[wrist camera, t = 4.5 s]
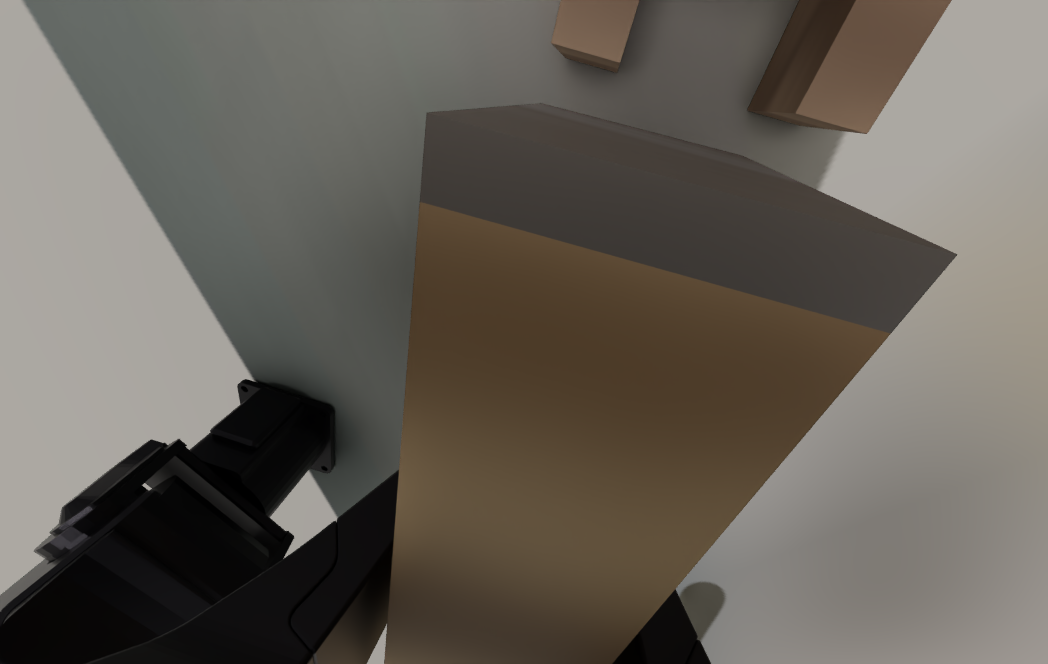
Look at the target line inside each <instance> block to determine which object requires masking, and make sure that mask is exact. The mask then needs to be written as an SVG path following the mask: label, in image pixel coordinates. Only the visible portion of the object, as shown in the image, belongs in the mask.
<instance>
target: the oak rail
mask: <svg viewBox="0 0 1048 664" xmlns="http://www.w3.org/2000/svg"><path fill="white" fill-rule="evenodd" d="M956 256H957V254H955V253H953V252H951V251H948V250H946V249H944V248H942V247H940V246H938V245H936V244H933V243H931V242H929V241H926V240H925V239H922V238H920V237H918V236H916V235H914V234H912V233H909V232H907V231H905V230H903V229H901V228H898V227H896V226H894V225H892V224H889V223H887V222H885V221H883V220H881V219H878V218H877V217H874V216H872V215H870V214H868V213H865V212H863V211H861V210H859V209H857V208H855V207H853V206H850V205H848V204H846V203H844V202H842V201H839V200H837V199H835V198H833V197H831V196H829V195H826V194H824V193H822V192H820V191H818V190H816V189H813V188H811V187H809V186H807V185H805V184H802V183H800V182H798V181H796V180H794V179H792V178H789V177H787V176H785V175H783V174H781V173H778V172H776V171H774V170H772V169H770V168H768V167H765V166H763V165H761V164H759V163H757V162H754V161H752V160H750V159H748V158H746V157H744V156H741V155H737V154H733V153H729V152H726V151H722V150H718V149H714V148H710V147H706V146H703V145H699V144H695V143H691V142H687V141H684V140H680V139H676V138H672V137H668V136H664V135H661V134H657V133H653V132H649V131H645V130H642V129H638V128H634V127H630V126H626V125H622V124H619V123H615V122H611V121H607V120H603V119H600V118H596V117H592V116H588V115H584V114H580V113H577V112H573V111H569V110H565V109H561V108H558V107H554V106H550V105H546V104H542V103H540V104H527V105H515V106H503V107H490V108H478V109H466V110H453V111H441V112H429V113H427V115H426V128H425V141H424V154H423V167H422V180H421V193H420V206H419V219H418V232H417V245H416V258H415V271H414V284H413V297H412V310H411V323H410V336H409V349H408V362H407V375H406V388H405V401H404V414H403V427H402V440H401V453H400V466H399V479H398V491H397V504H396V517H395V530H394V543H393V556H392V569H391V582H390V595H389V608H388V621H387V634H386V647H385V660H384V664H612V663H613V662H614V661H615V660H616V659H617V657H618V656H619V655H620V654H621V653H622V652H623V650H624V649H625V648H626V647H627V646H628V644H629V643H630V642H631V641H632V640H633V638H634V637H635V636H636V635H637V634H638V633H639V631H640V630H641V629H642V628H643V627H644V625H645V624H646V623H647V622H648V621H649V620H650V618H651V617H652V616H653V615H654V614H655V612H656V611H657V610H658V609H659V608H660V606H661V605H662V604H663V603H664V602H665V601H666V599H667V598H668V597H669V596H670V595H671V593H672V592H673V591H674V590H675V589H676V587H677V586H678V585H679V584H680V583H681V582H682V580H683V579H684V578H685V577H686V576H687V574H688V573H689V572H690V571H691V570H692V568H693V567H694V566H695V565H696V564H697V563H698V561H699V560H700V559H701V558H702V557H703V555H704V554H705V553H706V552H707V551H708V550H709V548H710V547H711V546H712V545H713V544H714V543H715V541H716V540H717V539H718V537H720V535H721V534H722V533H723V532H724V531H725V529H726V528H727V527H728V526H729V525H730V523H731V522H732V521H733V520H734V519H735V518H736V516H737V515H738V514H739V513H740V512H741V511H742V509H743V508H744V507H745V506H746V505H747V503H748V502H749V501H750V500H751V499H752V497H753V496H754V495H755V494H756V492H758V490H759V489H760V488H761V487H762V486H763V484H764V483H765V482H766V481H767V479H768V478H769V477H770V476H771V475H772V474H773V473H774V471H775V470H776V469H777V468H778V467H779V465H780V464H781V463H782V462H783V461H784V459H785V458H786V457H787V456H788V455H789V453H790V452H791V451H792V450H793V449H794V448H795V447H796V445H797V444H798V443H799V442H800V441H801V439H802V438H803V437H804V436H805V435H806V433H807V432H808V431H809V430H810V429H811V428H812V426H813V425H814V424H815V423H816V421H817V420H818V419H819V418H820V417H821V416H822V415H823V413H824V412H825V411H826V410H827V409H828V407H829V406H830V405H831V404H832V403H833V401H834V400H835V399H836V398H837V397H838V396H839V394H840V393H841V392H842V391H843V390H844V388H845V387H846V386H847V385H848V384H849V382H850V381H851V380H852V379H853V378H854V376H855V375H856V374H857V373H858V372H859V371H860V369H861V368H862V367H863V366H864V365H865V363H866V362H867V361H868V360H869V359H870V358H871V356H872V355H873V354H874V353H875V352H876V351H877V349H878V348H879V347H880V346H881V345H882V343H883V342H884V341H885V340H886V339H887V337H888V336H889V335H890V334H891V333H892V332H893V330H894V329H895V328H896V327H897V326H898V324H899V323H900V322H901V321H902V320H903V318H904V317H905V316H906V315H907V314H908V313H909V311H910V310H911V309H912V308H913V307H914V305H915V304H916V303H917V302H918V301H919V299H920V298H921V297H922V296H923V295H924V294H925V292H926V291H927V290H928V289H929V287H931V285H932V284H933V283H934V282H935V281H936V279H937V278H938V277H939V276H940V275H941V274H942V272H943V271H944V270H945V269H946V268H947V266H948V265H949V264H950V263H951V262H952V260H953V259H954V258H955V257H956Z"/></svg>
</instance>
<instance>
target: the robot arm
mask: <svg viewBox="0 0 1048 664" xmlns="http://www.w3.org/2000/svg"><path fill="white" fill-rule="evenodd" d="M238 393H239V398H240V404H241V405H240V406H238V407H237V408H236V409H235V410H233V411H232V412H231V413H230V414H229V415H227V416H226V417H225V418H224V419H223V420H221V421H220V422H219V423H218V424H216V425H215V426H214V427H213V428H212V429H211V430H210V432H211V433H209V434H208V435H207V436H206V437H205V438H203V439H202V440H201V441H200V442H198V443H197V444H196V445H195V446H194V447H192V448H191V449H190V450H189V449H187V448H186V446H187V445H186V444H185V443H183V442H182V441H181V440H180V439H177V440H176V441H174V442H172V443H171V444H169V445H167V444H166V443H161V442H158V441H154V440H150V441H148V442H147V443H145V444H144V445H142V446H141V447H140V448H138V449H137V450H135V451H134V452H133V453H131V454H130V455H129V456H127V457H126V458H125V459H123V460H122V461H121V462H119V463H118V464H117V465H115V466H114V467H113V468H111V469H110V470H109V471H107V472H106V473H105V474H104V475H102V476H101V477H100V478H98V479H97V480H96V481H95V482H93V483H92V484H91V485H90V486H88V487H87V488H86V489H85V490H83V491H82V492H81V493H80V494H78V495H77V496H76V497H74V499H72V500H71V501H69V502H68V503H67V504H66V505H64V506H63V507H62V510H61V515H60V520H59V524H58V525H57V526H56V527H55V528H54V529H52V530H51V531H50V534H51V535H50V536H49V537H48V538H47V539H46V540H45V541H43V542H42V543H41V544H40V545H39V546H38V547H37V548H36V549H35V550H34V552H35V553H37V554H39V555H40V556H42V557H43V558H45V559H44V560H43V561H42V562H41V563H39V564H38V565H37V566H36V567H34V568H33V569H32V570H31V571H30V572H28V573H27V574H26V575H25V576H23V577H22V578H21V579H20V580H19V581H17V582H16V583H15V584H13V585H12V586H11V587H10V588H9V589H8V590H6V591H5V592H4V593H2V594H1V595H0V664H367V662H368V660H369V658H370V656H371V654H372V652H373V650H374V648H375V646H376V644H377V642H378V640H379V638H380V636H381V634H382V632H383V630H384V628H385V626H386V624H387V621H388V608H389V595H390V582H391V569H392V556H393V543H394V530H395V517H396V504H397V491H398V479H399V470H398V471H396V472H395V473H394V474H393V475H391V476H390V477H389V478H388V479H386V480H385V481H384V482H383V483H381V484H380V485H379V486H378V487H376V488H375V489H374V490H373V491H371V492H370V493H369V494H368V495H366V496H365V497H364V498H362V499H361V500H360V501H359V502H357V503H356V504H355V505H354V506H352V507H351V508H350V509H349V510H347V511H346V512H345V513H344V514H342V515H341V516H340V517H339V518H337V522H336V521H334V522H332V523H331V524H330V525H328V526H327V527H326V528H325V529H323V530H322V531H321V532H320V533H318V534H317V535H316V536H314V537H313V538H312V539H310V540H309V541H308V542H306V543H305V544H304V545H302V546H301V547H300V548H298V549H297V550H296V551H294V552H293V553H291V554H290V555H288V556H287V557H286V558H284V556H285V554H286V552H287V550H288V549H289V546H290V545H291V543H292V541H293V539H294V536H293V535H292V534H291V533H290V532H289V531H285V530H283V529H282V528H281V527H280V526H278V525H277V524H276V523H275V522H274V521H273V520H272V519H270V516H271V515H272V514H273V513H274V511H275V510H276V509H277V508H278V507H279V505H280V504H281V503H282V502H283V501H284V499H285V498H286V497H287V495H288V494H289V493H290V492H291V491H292V489H293V488H294V487H295V486H296V485H297V483H298V482H299V481H300V480H301V478H302V477H303V476H304V475H305V473H306V472H307V471H308V470H309V469H310V468H311V469H314V470H317V471H320V472H323V473H330V472H331V471H332V469H333V468H334V412H333V410H332V408H331V407H330V406H328V405H325V404H322V403H319V402H316V401H313V400H310V399H307V398H303V397H300V396H297V395H294V394H291V393H288V392H285V391H282V390H279V389H275V388H272V387H269V386H266V385H263V384H260V383H257V382H254V381H251V380H247V379H245V380H243V381H241V382H240V383H239V384H238ZM144 483H146V484H147V485H148V486H150V487H151V488H152V489H151V490H150V491H148V490H147V489H146V488H144V487H143V486H142V485H143V484H144ZM283 558H284V559H283ZM697 638H698V636H697V633H696V631H695V629H694V627H693V625H692V623H691V621H690V619H689V617H688V614H687V612H686V610H685V608H684V606H683V604H682V602H681V600H680V598H679V596H678V593H677V591H676V589H675V590H674V591H673V592H672V593H671V595H670V596H669V597H668V598H667V599H666V601H665V602H664V603H663V604H662V605H661V606H660V608H659V609H658V610H657V611H656V612H655V614H654V615H653V616H652V617H651V618H650V620H649V621H648V622H647V623H646V624H645V625H644V627H643V628H642V629H641V630H640V631H639V633H638V634H637V635H636V636H635V637H634V638H633V640H632V641H631V642H630V643H629V644H628V646H627V647H626V648H625V649H624V650H623V652H622V653H621V654H620V655H619V656H618V657H617V659H616V660H615V661H614V662H613V663H612V664H711V662H710V660H709V658H708V656H707V654H706V652H705V650H704V648H703V646H702V644H701V642H700V640H697Z"/></svg>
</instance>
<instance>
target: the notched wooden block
mask: <svg viewBox="0 0 1048 664" xmlns="http://www.w3.org/2000/svg"><path fill="white" fill-rule="evenodd" d="M950 2H951V0H799V2H798V4H797V7H796V9H795V11H794V13H793V15H792V17H791V19H790V21H789V23H788V25H787V28H786V30H785V32H784V34H783V36H782V38H781V40H780V42H779V44H778V46H777V49H776V51H775V53H774V55H773V57H772V59H771V61H770V63H769V65H768V67H767V70H766V72H765V74H764V76H763V78H762V80H761V82H760V84H759V86H758V88H757V91H756V93H755V95H754V97H753V99H752V101H751V103H750V105H749V107H748V109H747V111H751V112H754V113H758V114H761V115H765V116H768V117H772V118H775V119H779V120H782V121H785V122H789V123H792V124H796V125H799V126H807V127H815V128H823V129H831V130H839V131H847V132H855V133H864V134H867V133H868V132H869V130H870V128H871V127H872V125H873V124H874V122H875V121H876V119H877V117H878V116H879V114H880V113H881V111H882V109H883V108H884V106H885V105H886V103H887V102H888V100H889V98H890V97H891V95H892V94H893V92H894V91H895V89H896V87H897V86H898V84H899V83H900V81H901V79H902V78H903V76H904V75H905V73H906V72H907V70H908V68H909V67H910V65H911V64H912V62H913V61H914V59H915V57H916V56H917V54H918V53H919V51H920V49H921V48H922V46H923V45H924V43H925V41H926V40H927V38H928V37H929V35H930V34H931V32H932V31H933V29H934V27H935V26H936V24H937V23H938V21H939V19H940V18H941V16H942V15H943V13H944V11H945V10H946V8H947V7H948V5H949V4H950ZM638 3H639V0H561V2H560V6H559V11H558V15H557V20H556V24H555V28H554V33H553V37H552V41H551V43H552V44H553V45H554V46H555V47H556V49H557V50H558V51H559V52H560V53H561V54H562V55H563V56H564V57H565V58H567V59H571V60H574V61H578V62H581V63H585V64H588V65H592V66H595V67H599V68H602V69H606V70H609V71H612V72H616V73H617V71H618V68H619V65H620V61H621V58H622V55H623V52H624V49H625V45H626V42H627V39H628V36H629V32H630V29H631V26H632V23H633V20H634V16H635V13H636V10H637V7H638Z"/></svg>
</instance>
